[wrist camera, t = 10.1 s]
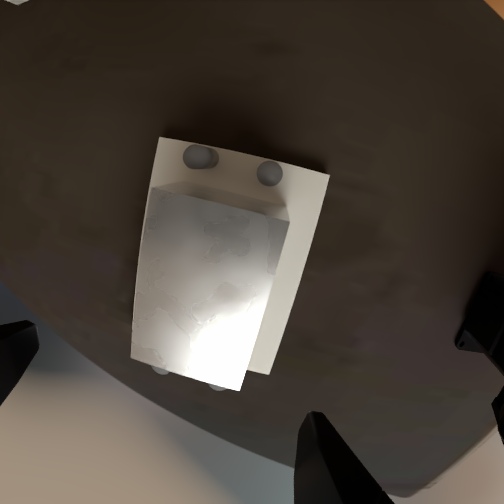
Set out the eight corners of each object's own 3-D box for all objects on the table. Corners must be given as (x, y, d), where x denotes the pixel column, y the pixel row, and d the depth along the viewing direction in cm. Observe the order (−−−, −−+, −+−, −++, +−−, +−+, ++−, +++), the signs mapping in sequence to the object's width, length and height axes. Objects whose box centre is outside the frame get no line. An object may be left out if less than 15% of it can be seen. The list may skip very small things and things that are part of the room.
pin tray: (327, 174, 18) (340, 177, 14) (269, 366, 21) (267, 403, 18) (165, 138, 18) (138, 132, 14) (137, 329, 22) (114, 358, 18)
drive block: (286, 206, 17) (290, 221, 13) (248, 341, 20) (239, 390, 15) (184, 181, 18) (151, 187, 13) (160, 316, 20) (130, 357, 15)
